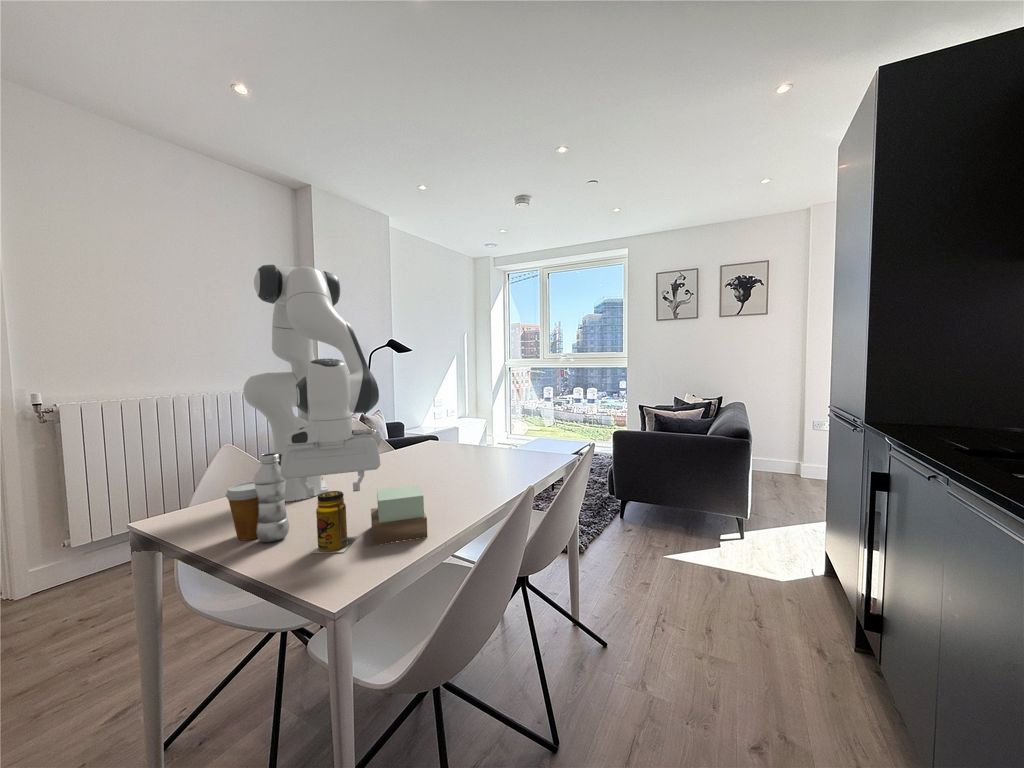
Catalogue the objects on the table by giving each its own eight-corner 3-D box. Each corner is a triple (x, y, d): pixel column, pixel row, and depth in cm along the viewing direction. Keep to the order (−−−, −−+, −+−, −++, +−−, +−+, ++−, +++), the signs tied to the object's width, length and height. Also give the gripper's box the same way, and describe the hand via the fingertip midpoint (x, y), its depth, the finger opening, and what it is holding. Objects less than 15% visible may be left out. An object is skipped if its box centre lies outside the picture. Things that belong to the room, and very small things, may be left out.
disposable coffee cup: (281, 533, 100) (277, 484, 100) (235, 547, 93) (231, 494, 93) (268, 524, 107) (265, 478, 106) (224, 536, 100) (220, 487, 99)
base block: (371, 528, 104) (370, 508, 103) (420, 521, 108) (419, 502, 108) (373, 547, 92) (372, 525, 92) (427, 538, 96) (426, 517, 96)
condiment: (309, 554, 89) (307, 498, 89) (327, 537, 98) (325, 487, 97) (343, 553, 89) (341, 498, 89) (358, 537, 98) (356, 486, 97)
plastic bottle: (293, 539, 97) (290, 454, 96) (260, 548, 92) (257, 459, 92) (284, 531, 102) (281, 450, 101) (252, 540, 97) (249, 455, 96)
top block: (377, 509, 103) (377, 489, 103) (418, 503, 106) (418, 484, 106) (379, 522, 94) (378, 500, 93) (424, 516, 97) (423, 495, 97)
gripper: (379, 426, 99) (382, 484, 99) (282, 433, 92) (285, 495, 92) (380, 429, 93) (383, 491, 93) (277, 437, 86) (280, 504, 86)
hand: (334, 493), depth 93 cm, fingers open, 8 cm apart
